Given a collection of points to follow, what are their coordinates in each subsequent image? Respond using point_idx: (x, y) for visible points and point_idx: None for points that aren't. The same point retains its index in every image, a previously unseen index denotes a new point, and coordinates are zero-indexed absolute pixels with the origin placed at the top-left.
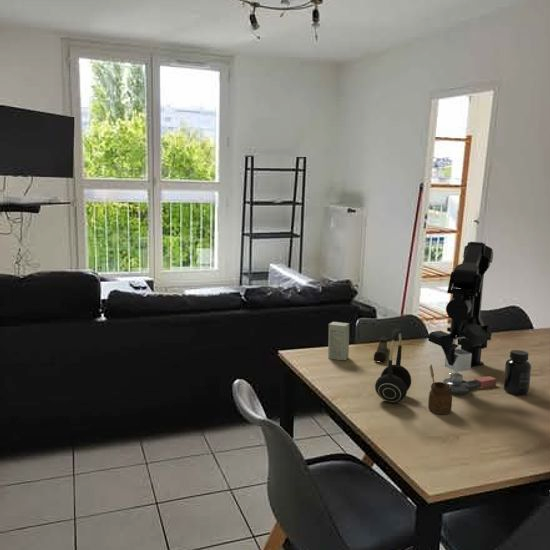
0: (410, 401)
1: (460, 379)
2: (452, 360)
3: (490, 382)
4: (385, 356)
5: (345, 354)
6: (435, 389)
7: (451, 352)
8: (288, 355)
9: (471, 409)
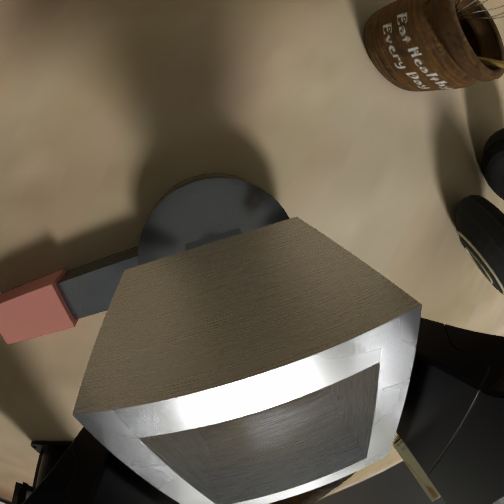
0: (451, 154)
1: None
2: None
3: (12, 294)
4: None
5: None
6: (492, 31)
7: (493, 341)
8: None
9: (259, 9)
